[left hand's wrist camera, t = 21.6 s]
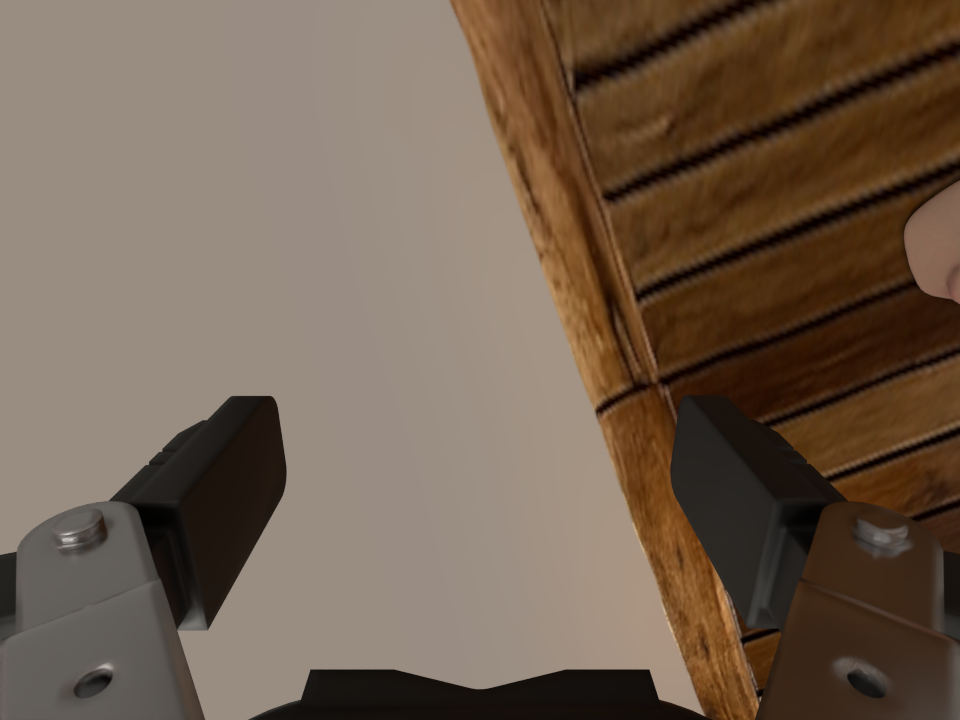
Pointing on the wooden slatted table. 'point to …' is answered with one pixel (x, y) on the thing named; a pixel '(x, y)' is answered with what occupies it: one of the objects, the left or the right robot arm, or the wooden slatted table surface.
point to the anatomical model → (936, 244)
